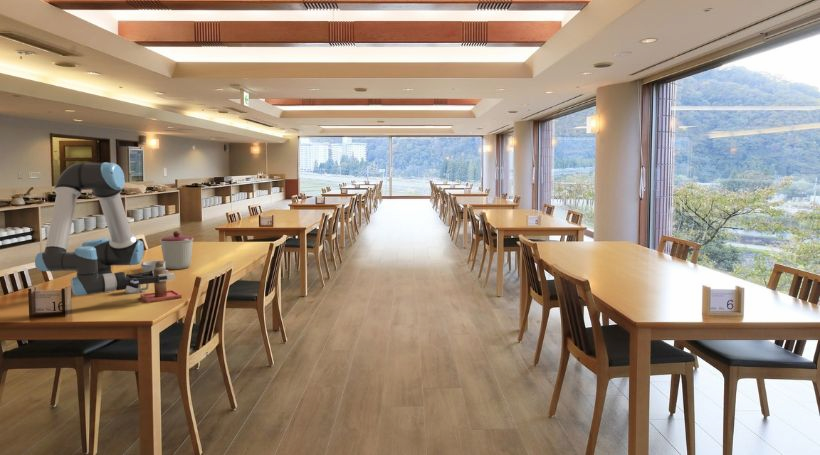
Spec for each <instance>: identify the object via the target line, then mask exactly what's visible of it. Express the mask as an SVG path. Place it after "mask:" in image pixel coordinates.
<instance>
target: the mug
mask: <svg viewBox="0 0 820 455" xmlns="http://www.w3.org/2000/svg"><path fill="white" fill-rule="evenodd" d="M149 284H150V283H149ZM149 284H145V285H146V286H145V287H142V284H139V285H131V284H127V285H126V286H127V287H126V289H124V290H125V294H127V295H130V294H135V295H136V294H139V293H140V294H141V293H142V291H147V290H149V288H150V285H149Z"/></svg>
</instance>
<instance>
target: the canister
mask: <svg viewBox="0 0 820 455" xmlns="http://www.w3.org/2000/svg"><path fill="white" fill-rule="evenodd" d="M194 239H195V238H194V237H192V236H191V235H185V234H184V235H181V232H180V231H177V230H176V231H175V230H174V231H173V232H172V235H168V236H167V235H166V236H163V237H161V238H160V239H159V240H158V241H159V242H160V246H161V252H162V258H163V261H165V268H166V269H167V270H183V269H188V268H189V267H191V264H192V257H193V244H194V243H193V242H194Z"/></svg>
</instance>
